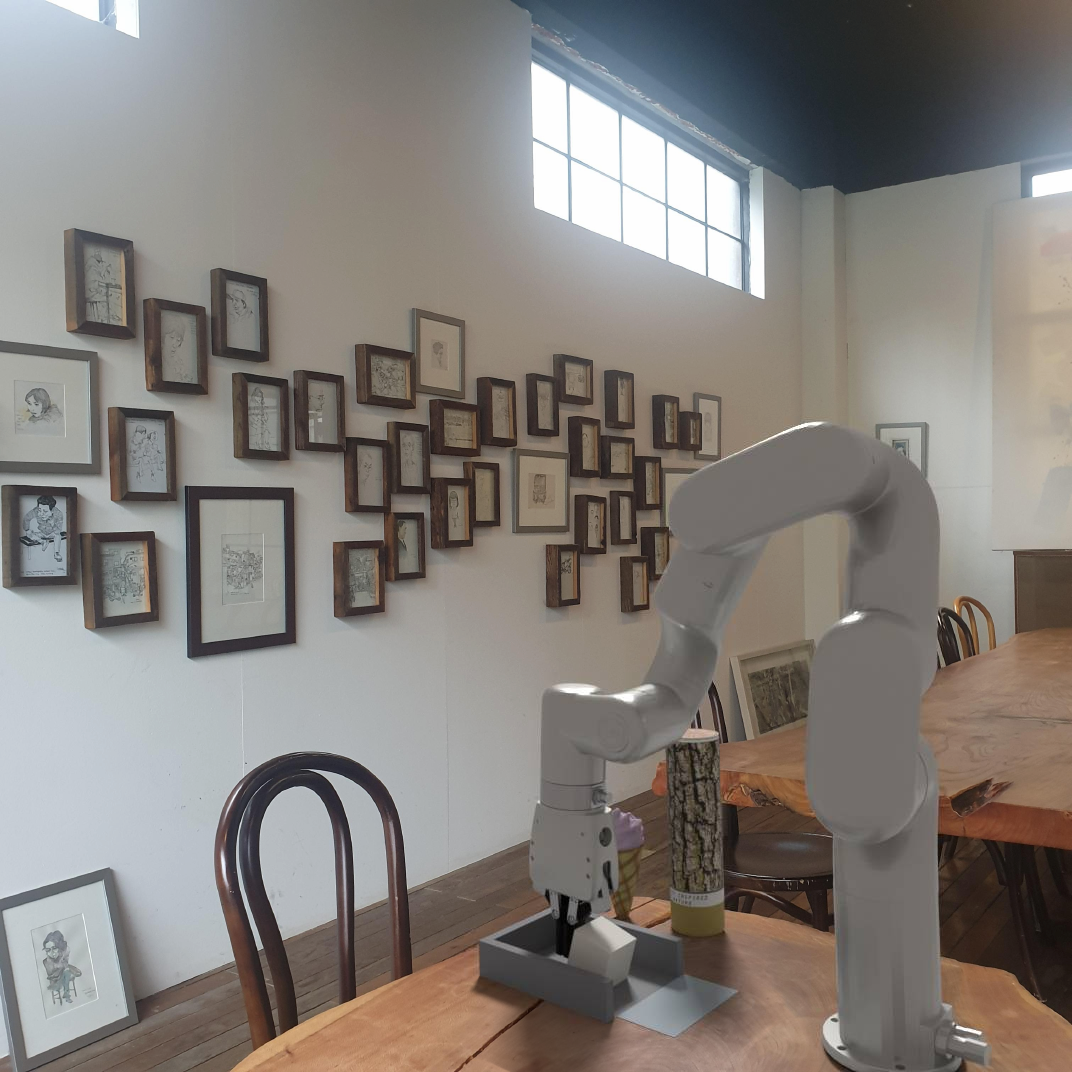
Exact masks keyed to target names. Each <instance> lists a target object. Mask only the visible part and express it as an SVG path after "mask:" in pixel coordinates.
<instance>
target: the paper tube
mask: <svg viewBox="0 0 1072 1072" xmlns="http://www.w3.org/2000/svg"><path fill="white" fill-rule="evenodd" d="M720 752H721V751H720V736H719V732H718V731H715V730H712V729H706V728H688V730H687V731H686V733H685V734H684V735H683V736H682V737H681V738H680V739H679V740H678V742H676V743H675V744H673V745H672V746H670V747H668V748H665V775H666V776H665V777H666V778H665V779H666V780H665V781H666V803H667V804H666V805H667V808H666V809H667V810H666V811H667V835H668V837H667V838H668V839H667V841H668V873H669V874H668V875H669V877H668V878H669V898H670V926H671V928H672V929H673V931H675V932H676V933H679V934H681V935H683V936H687V937H692V938H693V937H694V938H706V937H707V938H708V937H714V936H717V935H719V934H722V933H723V932H724V930H725V927H726V922H725V921H726V918H725V917H726V916H725V914H726V913H725V883H724V882H725V880H724V878H725V877H724V851H723V850H724V849H723V848H724V846H723V826H722V825H723V819H722V815H723V814H722V787H721V785H722V784H721V758H720V757H721V756H720V755H721V754H720Z"/></svg>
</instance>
